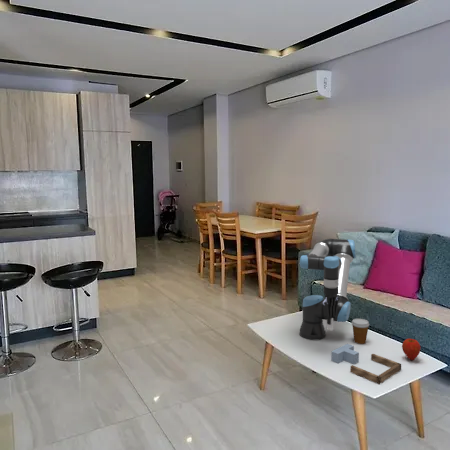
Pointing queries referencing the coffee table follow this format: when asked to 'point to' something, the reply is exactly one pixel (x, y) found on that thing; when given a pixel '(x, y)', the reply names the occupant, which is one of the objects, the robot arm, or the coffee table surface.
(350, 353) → the t block
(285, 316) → the coffee table surface
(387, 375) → the walnut fence
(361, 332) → the disposable coffee cup
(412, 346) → the apple
